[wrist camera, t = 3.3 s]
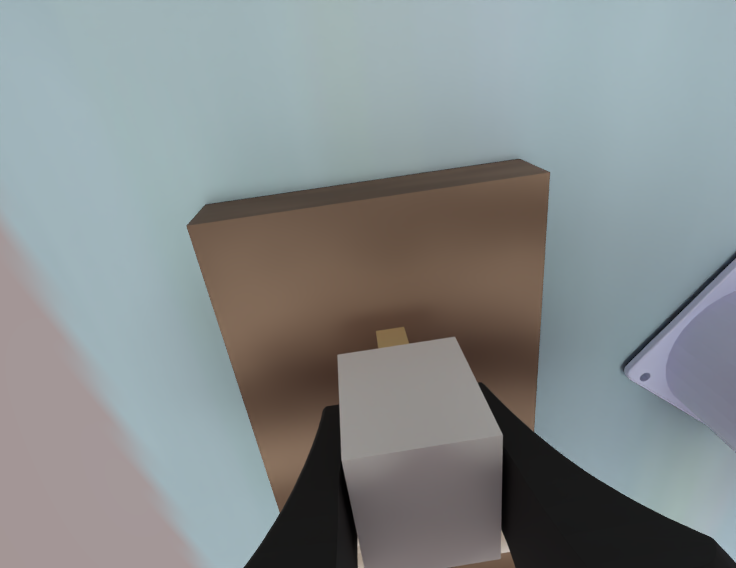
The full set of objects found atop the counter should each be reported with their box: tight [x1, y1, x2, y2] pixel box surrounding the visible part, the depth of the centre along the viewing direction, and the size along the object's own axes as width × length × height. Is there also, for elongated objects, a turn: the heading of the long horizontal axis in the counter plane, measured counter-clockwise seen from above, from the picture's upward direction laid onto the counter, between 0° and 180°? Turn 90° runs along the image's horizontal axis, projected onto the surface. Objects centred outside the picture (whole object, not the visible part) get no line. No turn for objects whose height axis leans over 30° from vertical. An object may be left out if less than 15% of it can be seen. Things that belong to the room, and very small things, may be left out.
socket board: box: [187, 159, 550, 568], centre depth 21 cm, size 24×12×2 cm, turn 7°
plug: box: [337, 327, 503, 568], centre depth 13 cm, size 4×4×6 cm
